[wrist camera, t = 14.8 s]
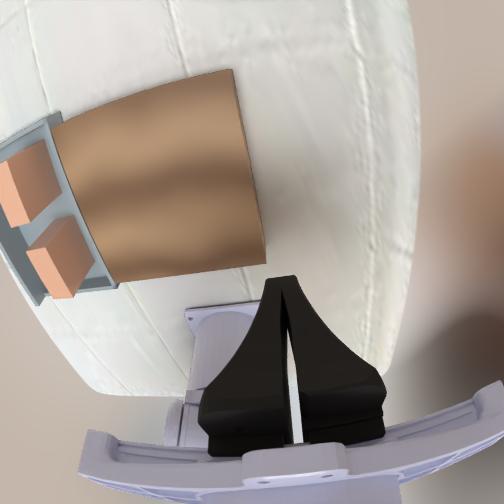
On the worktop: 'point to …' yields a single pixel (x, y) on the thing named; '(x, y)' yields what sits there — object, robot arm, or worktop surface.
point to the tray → (46, 219)
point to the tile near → (27, 184)
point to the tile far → (61, 257)
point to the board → (166, 180)
